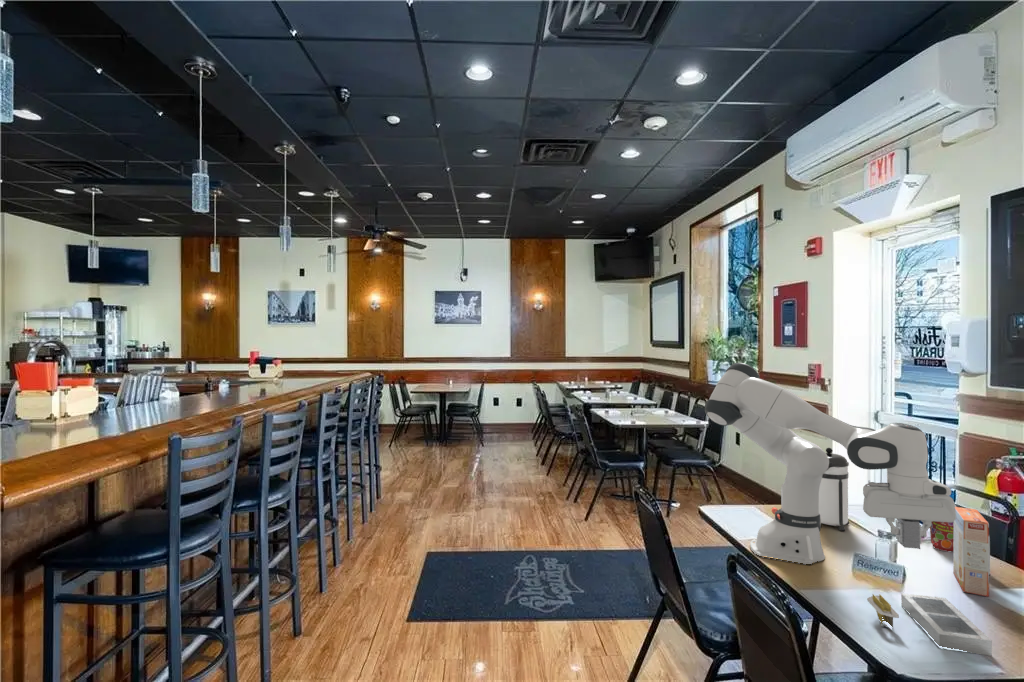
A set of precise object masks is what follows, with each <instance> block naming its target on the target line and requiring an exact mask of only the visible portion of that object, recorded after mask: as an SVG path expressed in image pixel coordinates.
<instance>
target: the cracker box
mask: <svg viewBox="0 0 1024 682" xmlns="http://www.w3.org/2000/svg"><path fill="white" fill-rule="evenodd" d="M955 510H956V519H955V520H954V521H953V522H954V551H953V557H952V558H953V559H952V561H953V565H952V566H953V568H952V570H953V572H952V573H953V575H954V577H955V579H956V581H957V583H958V585H959V587H960V588H961V590H962V592H963V593H968V594H973V595H976V596H977V595H978V596H983V597H987V598H988V597H989V596H990V595H989V593H990V586H989V585H990V582H989V581H990V576H989V536H990V524H989V521H987V520H986V518H984V516H983V515H982V514H981V513H980V512H979V511H978V509H975V508H967V507H960V506H956V507H955Z"/></svg>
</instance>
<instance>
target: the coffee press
mask: <svg viewBox="0 0 1024 682" xmlns="http://www.w3.org/2000/svg"><path fill="white" fill-rule="evenodd" d="M825 453H826V454H827V456H828V458H829V466H828V469H827V470H826V472H825V473H824V474H823V476H822V479H821V483H820V487H819V514H820V518H821V524H824V525H828V526H834V527H836V528H837V529H838V530H839V532H845V531H846V529H845V525H847V526H848V525H849V524H850V521H849V477H850V476H849V475H850V474H849V472H848V471H849V470H848V469H849V466H850V462H849V461H848V460H847V458H846V457H845V456H843V455H841V454H838V453H833V449H832V448H831V447H826V449H825Z"/></svg>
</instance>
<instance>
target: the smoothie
mask: <svg viewBox="0 0 1024 682" xmlns="http://www.w3.org/2000/svg"><path fill="white" fill-rule="evenodd" d="M955 507H957V505H956V504H955ZM931 524H932V525H931V526H930V528H929V535H930V543H931V544H932V547H933V548H934V549H936V550H938V549H939V551H942V552H948V551H951V552H954V522H937V521H931Z"/></svg>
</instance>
